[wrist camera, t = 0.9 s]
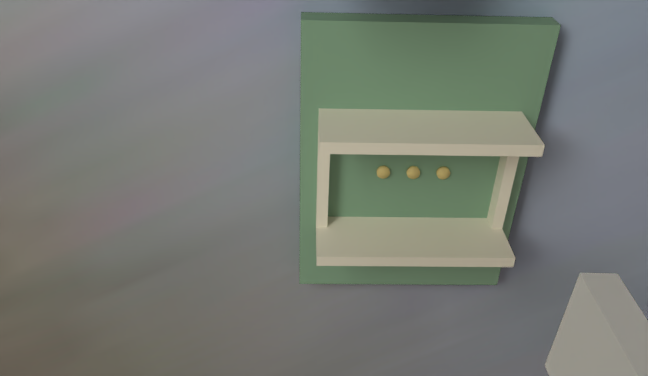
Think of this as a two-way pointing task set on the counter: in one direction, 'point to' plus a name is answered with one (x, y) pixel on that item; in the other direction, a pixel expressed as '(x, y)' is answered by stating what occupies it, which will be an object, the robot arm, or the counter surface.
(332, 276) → the board
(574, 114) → the counter surface
